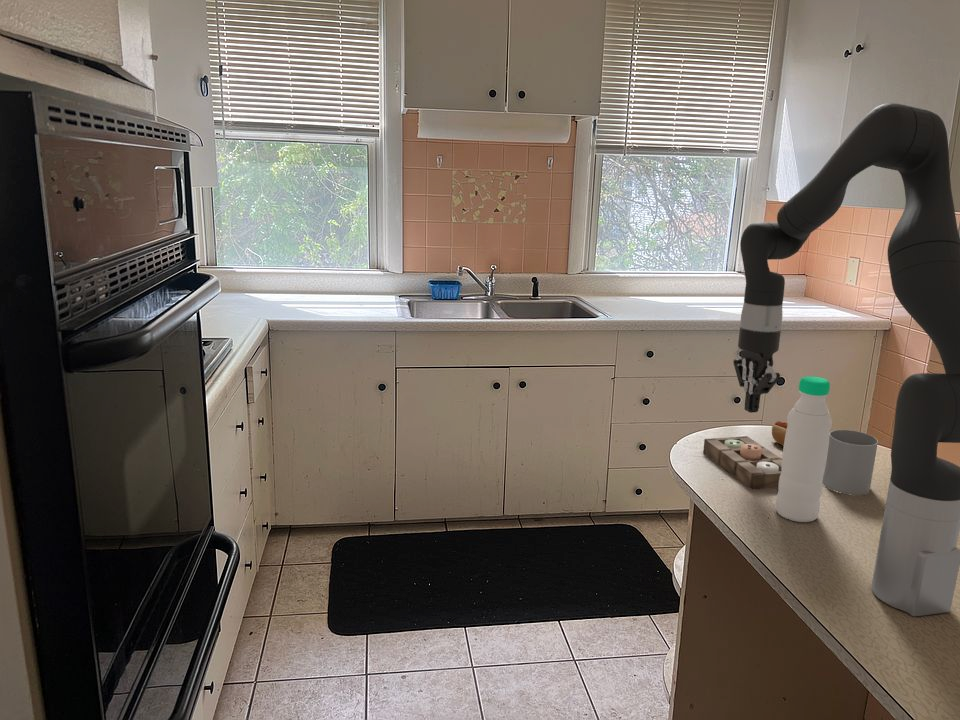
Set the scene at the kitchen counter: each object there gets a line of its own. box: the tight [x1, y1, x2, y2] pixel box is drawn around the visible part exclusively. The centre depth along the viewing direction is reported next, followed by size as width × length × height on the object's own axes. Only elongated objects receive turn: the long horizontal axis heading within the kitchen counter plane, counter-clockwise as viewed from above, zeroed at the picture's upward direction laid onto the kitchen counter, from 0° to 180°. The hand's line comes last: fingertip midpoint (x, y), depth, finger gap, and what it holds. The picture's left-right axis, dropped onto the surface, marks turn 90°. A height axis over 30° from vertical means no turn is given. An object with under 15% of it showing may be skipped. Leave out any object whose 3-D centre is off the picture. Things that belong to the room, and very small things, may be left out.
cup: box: [822, 429, 879, 496], centre depth 142 cm, size 8×8×10 cm
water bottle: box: [774, 375, 833, 523], centre depth 128 cm, size 7×7×25 cm
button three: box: [740, 444, 762, 460], centre depth 150 cm, size 4×4×3 cm
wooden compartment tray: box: [703, 435, 782, 491], centre depth 151 cm, size 19×10×3 cm, turn 12°
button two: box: [724, 439, 745, 449], centre depth 156 cm, size 4×4×3 cm
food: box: [771, 420, 788, 447], centre depth 160 cm, size 14×6×5 cm, turn 23°
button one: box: [757, 462, 779, 472], centre depth 145 cm, size 4×4×3 cm
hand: (751, 411), depth 149 cm, fingers closed
